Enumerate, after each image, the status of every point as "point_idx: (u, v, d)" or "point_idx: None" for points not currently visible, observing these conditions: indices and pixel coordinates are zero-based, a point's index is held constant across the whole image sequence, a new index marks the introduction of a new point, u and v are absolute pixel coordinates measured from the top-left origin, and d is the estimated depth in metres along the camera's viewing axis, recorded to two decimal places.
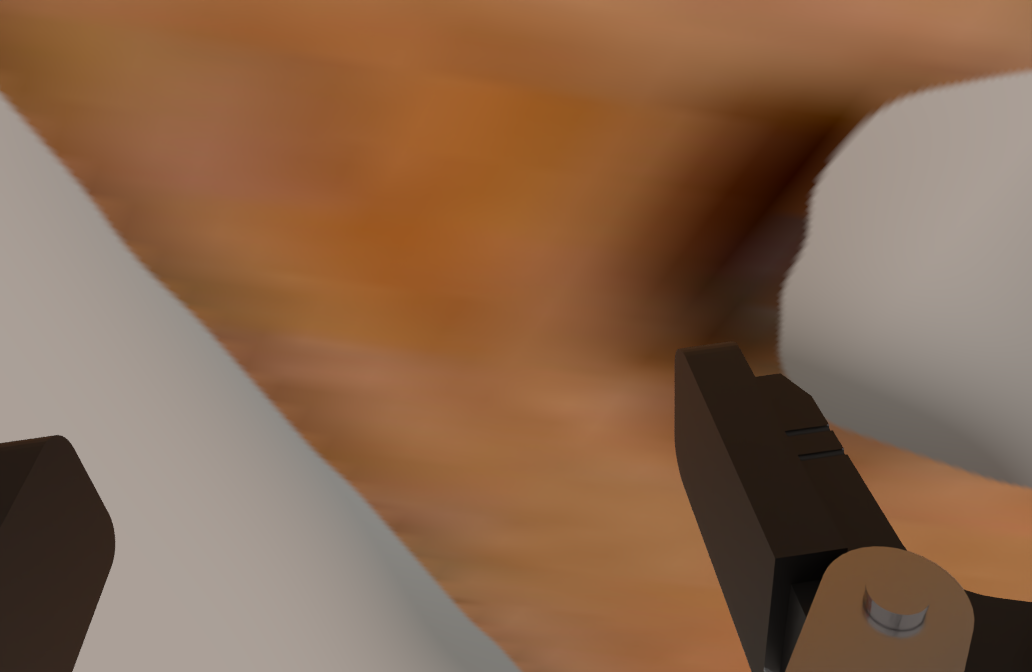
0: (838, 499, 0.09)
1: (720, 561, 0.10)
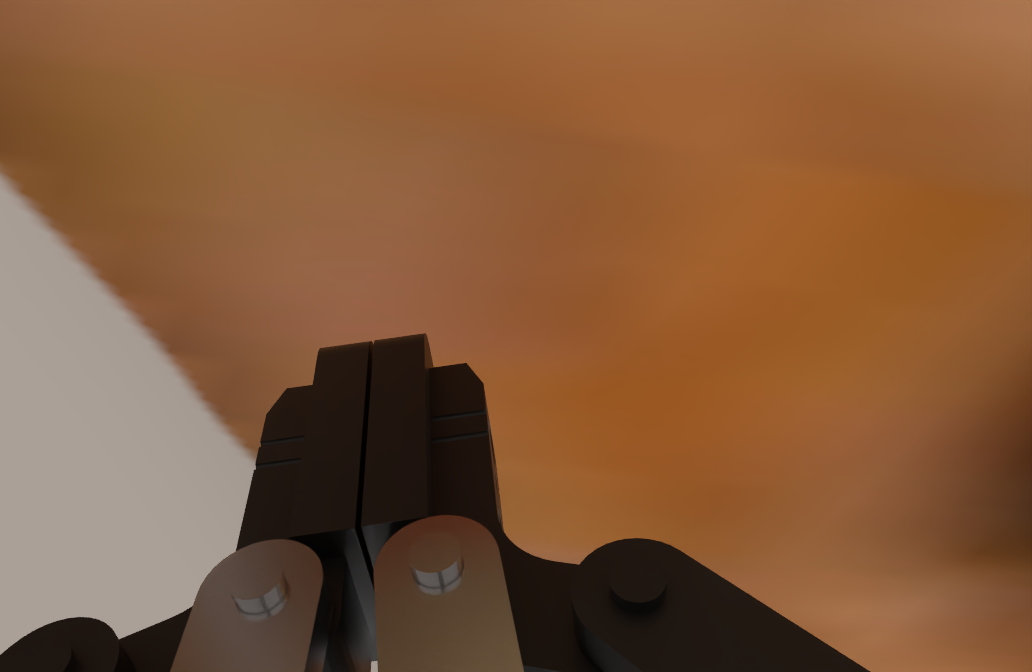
0: (462, 475, 0.10)
1: None
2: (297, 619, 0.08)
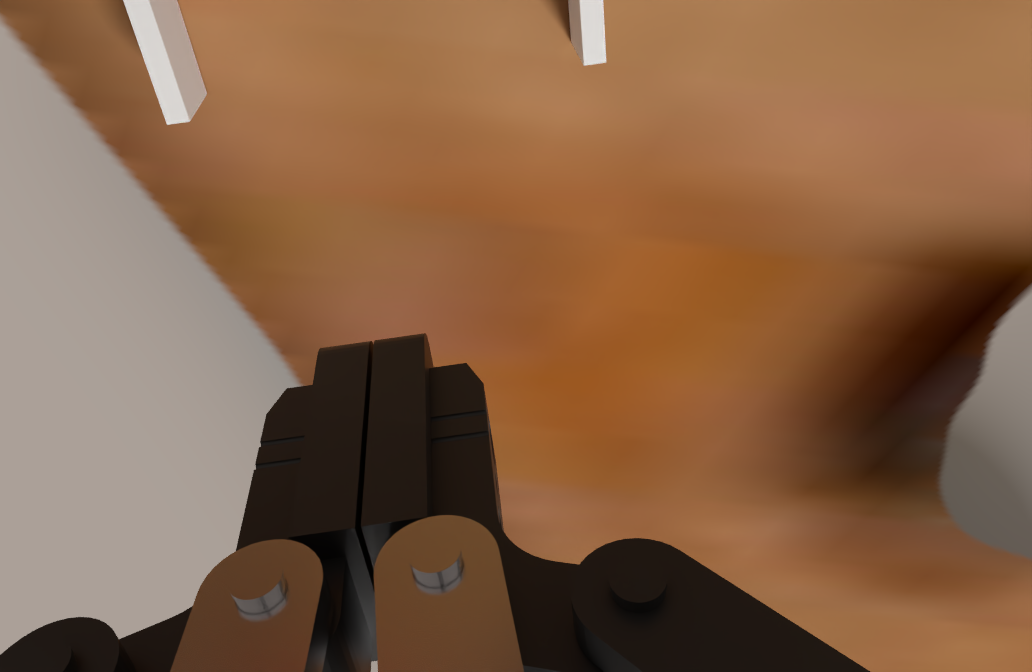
0: (462, 475, 0.10)
1: None
2: (297, 619, 0.08)
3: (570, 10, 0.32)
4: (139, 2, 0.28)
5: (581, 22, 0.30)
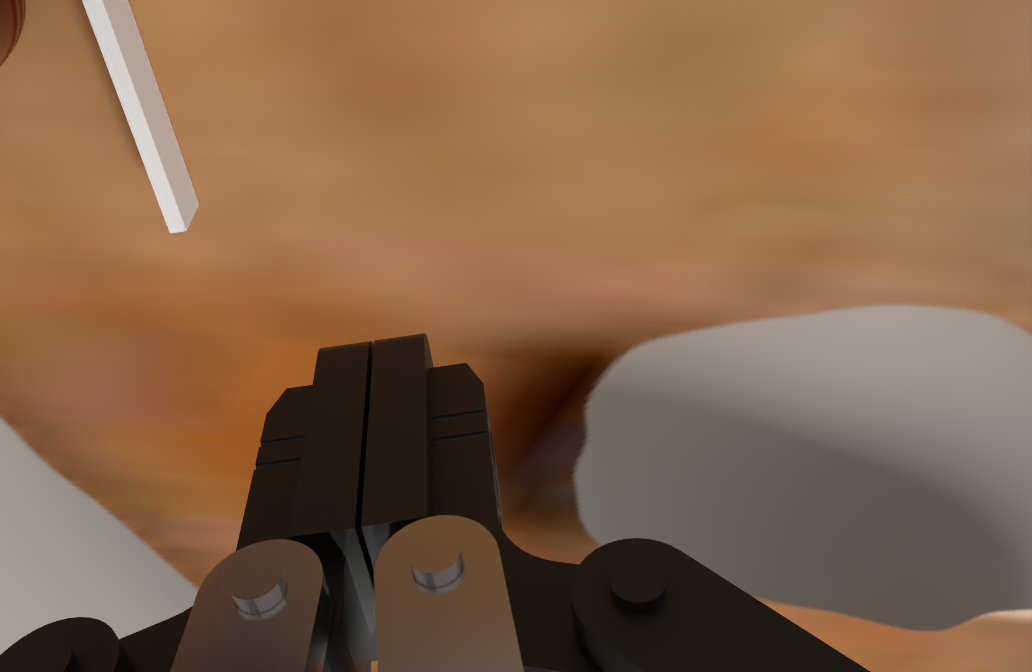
0: (462, 476, 0.10)
1: None
2: (297, 619, 0.08)
3: None
4: None
5: (160, 205, 0.41)
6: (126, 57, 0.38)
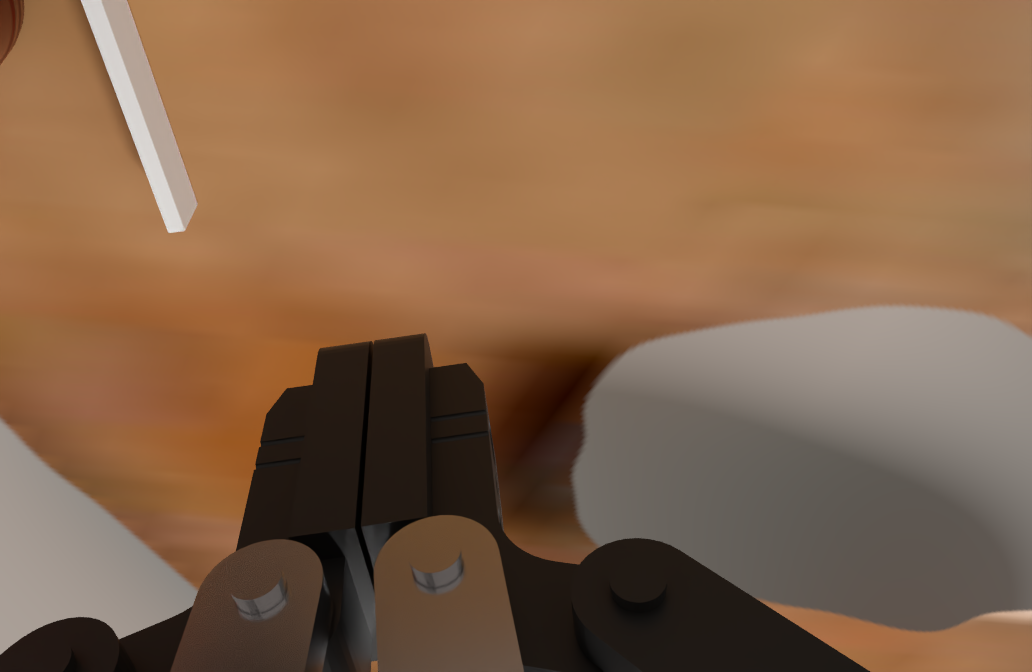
0: (461, 475, 0.10)
1: None
2: (297, 619, 0.08)
3: None
4: None
5: (158, 205, 0.41)
6: (125, 57, 0.38)
